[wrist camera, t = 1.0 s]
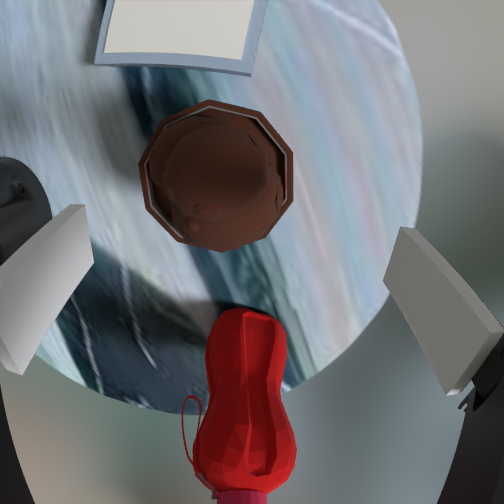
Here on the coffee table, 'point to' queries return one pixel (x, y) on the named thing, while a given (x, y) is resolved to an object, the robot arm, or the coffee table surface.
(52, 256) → the robot arm
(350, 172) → the coffee table surface
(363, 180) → the coffee table surface
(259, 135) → the ice cream bowl
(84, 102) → the coffee table surface
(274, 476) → the water bottle
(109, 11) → the base plinth
